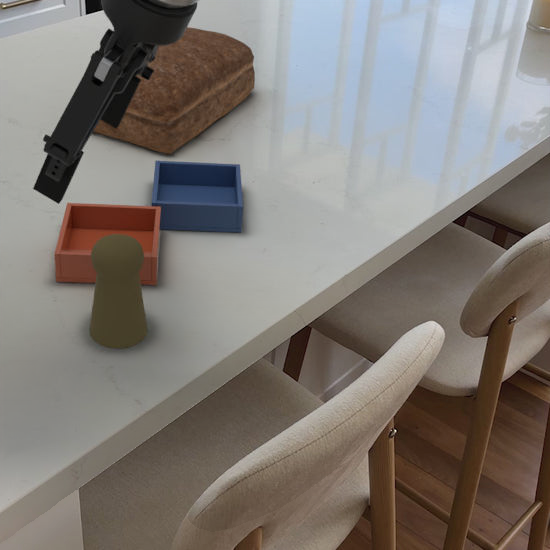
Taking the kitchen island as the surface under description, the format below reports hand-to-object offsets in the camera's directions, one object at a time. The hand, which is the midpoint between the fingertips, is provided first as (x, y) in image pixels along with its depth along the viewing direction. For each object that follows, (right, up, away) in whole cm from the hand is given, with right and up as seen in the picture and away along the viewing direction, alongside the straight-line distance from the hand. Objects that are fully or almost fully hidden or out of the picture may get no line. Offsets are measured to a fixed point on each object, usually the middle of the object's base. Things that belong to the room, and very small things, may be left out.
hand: (78, 155), depth 87 cm
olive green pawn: (+3, -18, +6) cm, 19 cm away
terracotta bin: (0, -10, +17) cm, 20 cm away
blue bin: (+9, -3, +28) cm, 30 cm away
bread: (+3, +14, +52) cm, 54 cm away
